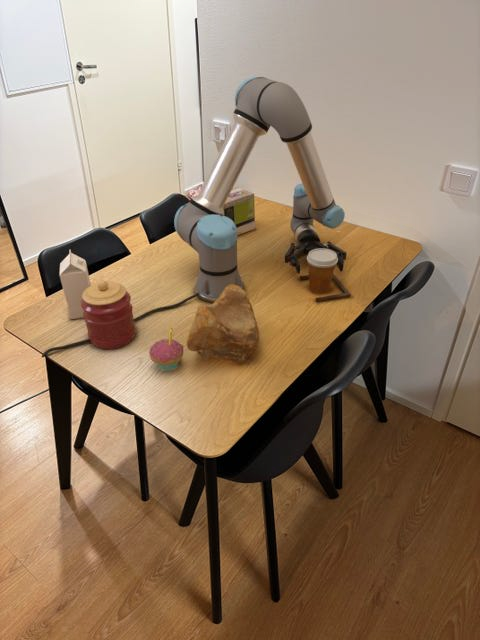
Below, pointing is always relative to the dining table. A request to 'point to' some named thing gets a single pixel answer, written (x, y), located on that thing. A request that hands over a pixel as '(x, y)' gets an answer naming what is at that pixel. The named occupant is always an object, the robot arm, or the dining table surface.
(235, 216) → the tea box
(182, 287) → the dining table surface
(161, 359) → the cupcake
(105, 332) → the kitchen canister
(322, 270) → the disposable coffee cup
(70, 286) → the milk carton
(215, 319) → the rough brown rock
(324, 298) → the walnut frame
